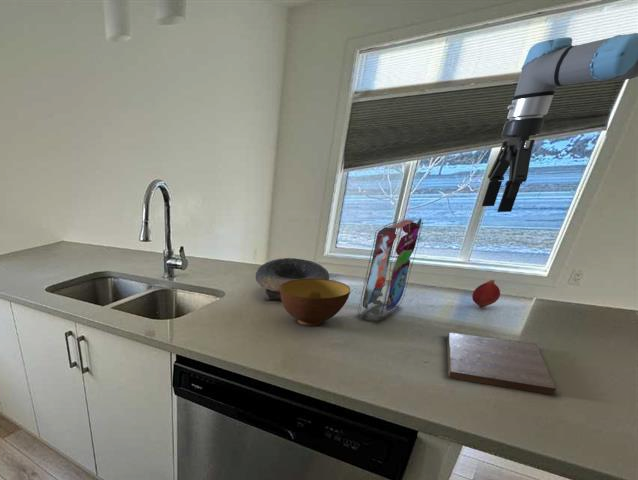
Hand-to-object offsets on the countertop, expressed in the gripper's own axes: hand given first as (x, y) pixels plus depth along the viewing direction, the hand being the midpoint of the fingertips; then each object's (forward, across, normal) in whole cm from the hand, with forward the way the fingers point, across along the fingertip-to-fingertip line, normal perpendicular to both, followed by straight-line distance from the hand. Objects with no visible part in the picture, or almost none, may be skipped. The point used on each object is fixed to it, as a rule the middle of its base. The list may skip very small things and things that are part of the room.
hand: (495, 208), depth 112 cm
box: (+25, +17, -24) cm, 38 cm away
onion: (+25, +12, +1) cm, 28 cm away
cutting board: (+26, +49, -6) cm, 55 cm away
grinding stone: (+24, +7, -50) cm, 56 cm away
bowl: (+25, +32, -44) cm, 60 cm away
